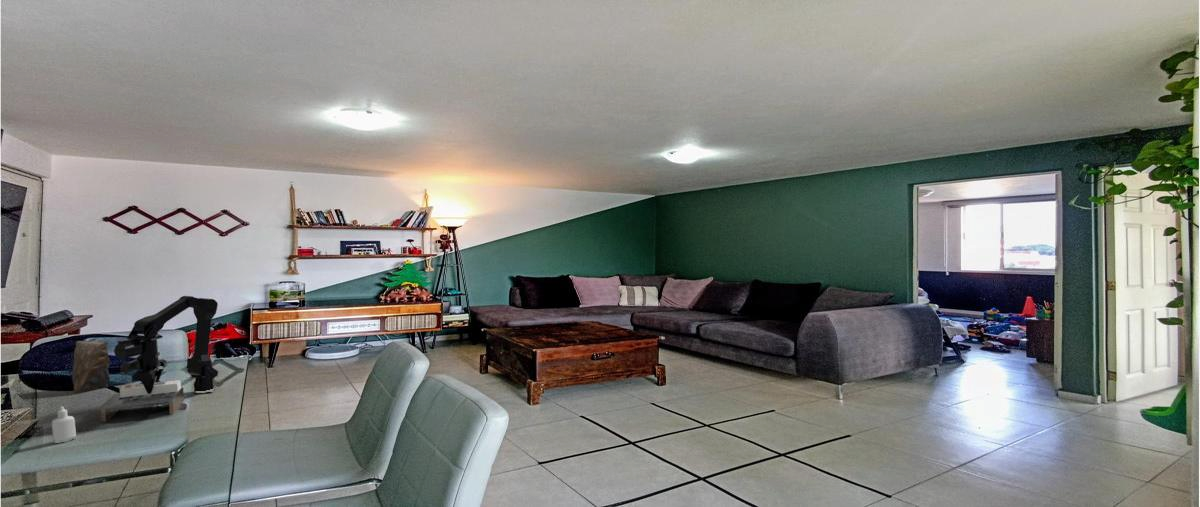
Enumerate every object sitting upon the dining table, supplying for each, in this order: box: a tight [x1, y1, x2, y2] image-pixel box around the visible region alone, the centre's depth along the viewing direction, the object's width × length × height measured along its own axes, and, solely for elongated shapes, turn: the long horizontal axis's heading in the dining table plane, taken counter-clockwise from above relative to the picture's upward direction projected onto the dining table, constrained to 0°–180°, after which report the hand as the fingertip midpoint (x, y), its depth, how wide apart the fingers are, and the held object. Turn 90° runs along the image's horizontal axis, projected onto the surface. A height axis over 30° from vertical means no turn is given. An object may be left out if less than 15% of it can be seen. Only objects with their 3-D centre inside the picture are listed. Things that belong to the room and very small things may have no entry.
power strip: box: [119, 379, 182, 399], centre depth 225 cm, size 18×4×7 cm, turn 112°
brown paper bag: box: [71, 339, 111, 395], centre depth 249 cm, size 13×13×20 cm
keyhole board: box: [100, 386, 185, 423], centre depth 224 cm, size 22×14×6 cm, turn 112°
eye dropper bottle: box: [51, 406, 77, 440], centre depth 198 cm, size 4×6×12 cm
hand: (151, 391), depth 225 cm, fingers closed on power strip, 4 cm apart
